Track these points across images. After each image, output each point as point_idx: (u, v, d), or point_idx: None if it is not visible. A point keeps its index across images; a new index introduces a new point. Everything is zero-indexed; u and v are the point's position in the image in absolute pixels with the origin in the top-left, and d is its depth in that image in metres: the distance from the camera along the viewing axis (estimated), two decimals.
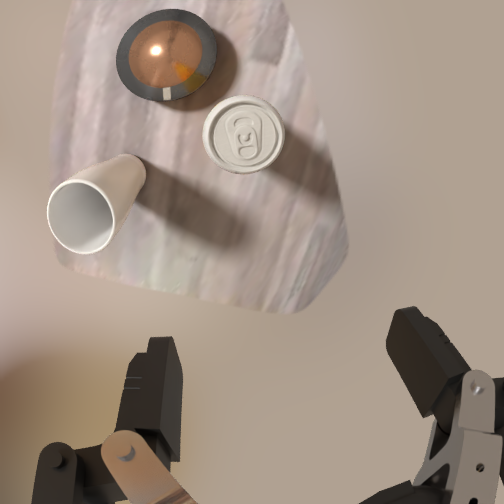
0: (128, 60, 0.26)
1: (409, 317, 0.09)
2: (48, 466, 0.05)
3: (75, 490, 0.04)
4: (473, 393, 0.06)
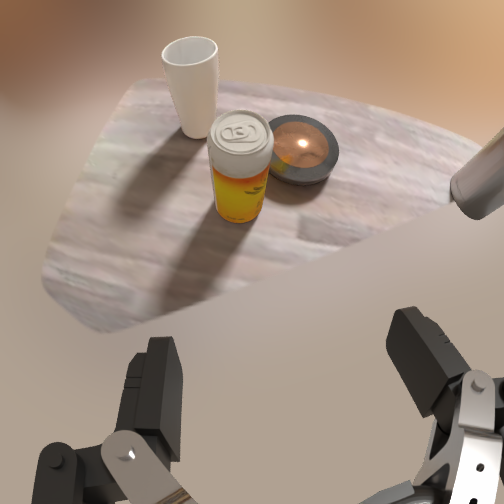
0: (294, 121, 0.41)
1: (409, 317, 0.09)
2: (48, 466, 0.05)
3: (75, 491, 0.04)
4: (473, 393, 0.06)
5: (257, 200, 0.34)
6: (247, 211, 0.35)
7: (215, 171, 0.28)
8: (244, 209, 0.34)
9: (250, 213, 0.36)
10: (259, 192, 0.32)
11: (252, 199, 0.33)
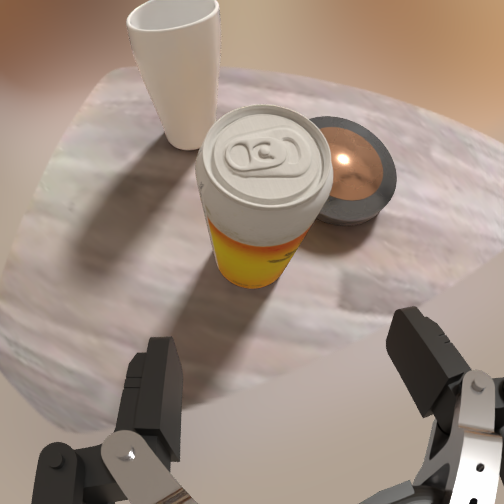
0: (332, 127, 0.27)
1: (409, 317, 0.09)
2: (48, 466, 0.05)
3: (75, 490, 0.04)
4: (473, 393, 0.06)
5: (286, 264, 0.21)
6: (268, 278, 0.22)
7: (214, 228, 0.15)
8: (263, 277, 0.21)
9: (271, 278, 0.23)
10: (291, 255, 0.19)
11: (279, 266, 0.19)
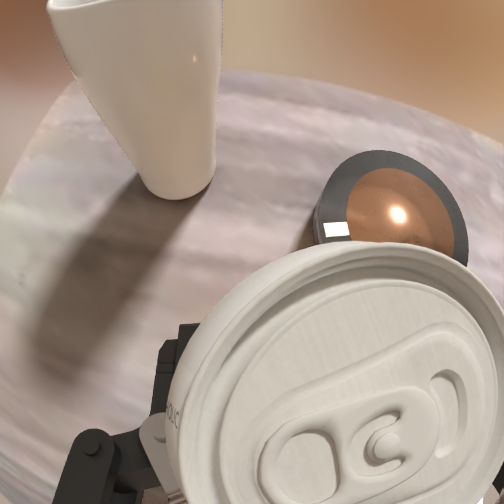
0: (387, 167, 0.18)
1: None
2: (82, 452, 0.05)
3: (107, 480, 0.05)
4: None
5: None
6: None
7: None
8: None
9: None
10: None
11: None
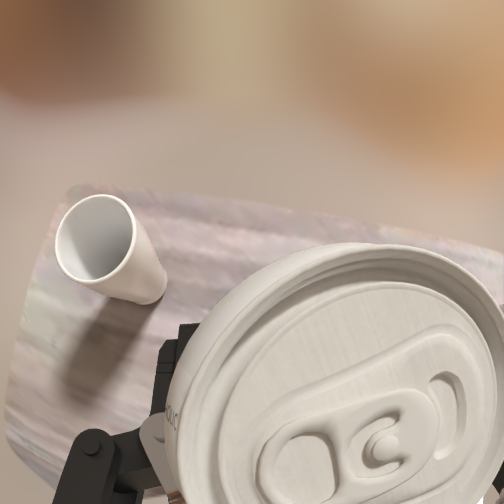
0: None
1: None
2: (82, 452, 0.05)
3: (108, 479, 0.05)
4: None
5: None
6: None
7: None
8: None
9: None
10: None
11: None
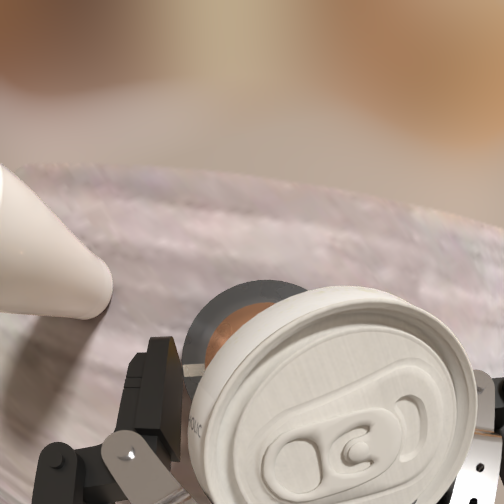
0: (259, 302, 0.20)
1: None
2: (48, 466, 0.05)
3: (75, 490, 0.04)
4: None
5: None
6: None
7: None
8: None
9: None
10: None
11: None
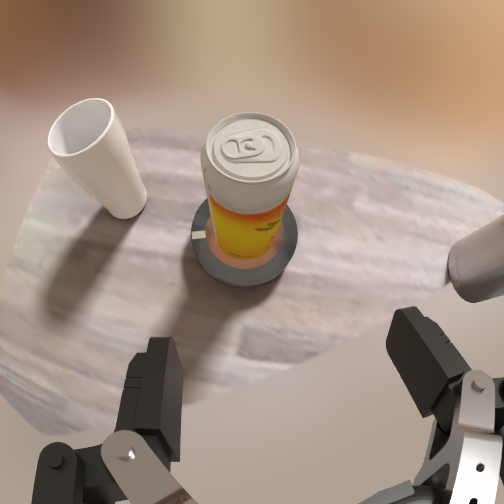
0: None
1: (409, 317, 0.09)
2: (48, 466, 0.05)
3: (75, 490, 0.04)
4: (473, 393, 0.06)
5: (271, 236, 0.26)
6: (257, 248, 0.27)
7: (213, 202, 0.20)
8: (253, 247, 0.26)
9: (260, 250, 0.28)
10: (274, 226, 0.24)
11: (265, 236, 0.24)
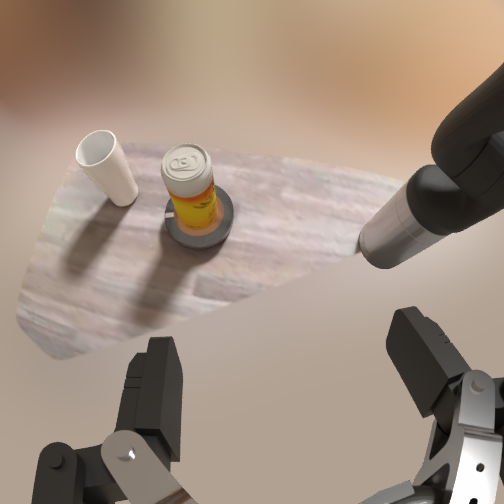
0: None
1: (409, 317, 0.09)
2: (48, 466, 0.05)
3: (75, 490, 0.04)
4: (473, 393, 0.06)
5: (208, 212, 0.42)
6: (201, 221, 0.43)
7: (169, 191, 0.36)
8: (197, 220, 0.42)
9: (204, 222, 0.44)
10: (207, 206, 0.40)
11: (202, 212, 0.41)
